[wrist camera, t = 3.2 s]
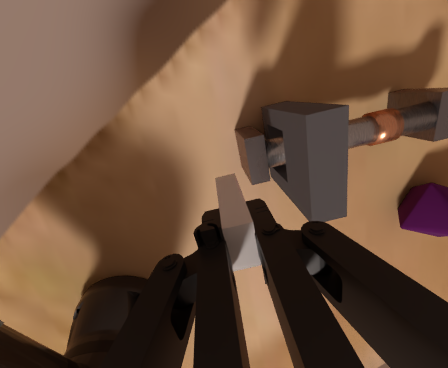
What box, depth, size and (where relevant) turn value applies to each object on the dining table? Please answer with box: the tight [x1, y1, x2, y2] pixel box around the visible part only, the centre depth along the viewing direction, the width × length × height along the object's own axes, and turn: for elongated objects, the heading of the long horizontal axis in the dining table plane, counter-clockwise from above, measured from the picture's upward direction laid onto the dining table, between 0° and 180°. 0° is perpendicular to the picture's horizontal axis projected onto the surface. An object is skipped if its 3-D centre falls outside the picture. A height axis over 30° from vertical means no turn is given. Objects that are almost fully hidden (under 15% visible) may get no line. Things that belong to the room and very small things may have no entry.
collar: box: [261, 101, 349, 222], centre depth 21 cm, size 3×9×12 cm, turn 12°
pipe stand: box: [235, 88, 448, 185], centre depth 24 cm, size 22×5×7 cm, turn 102°
